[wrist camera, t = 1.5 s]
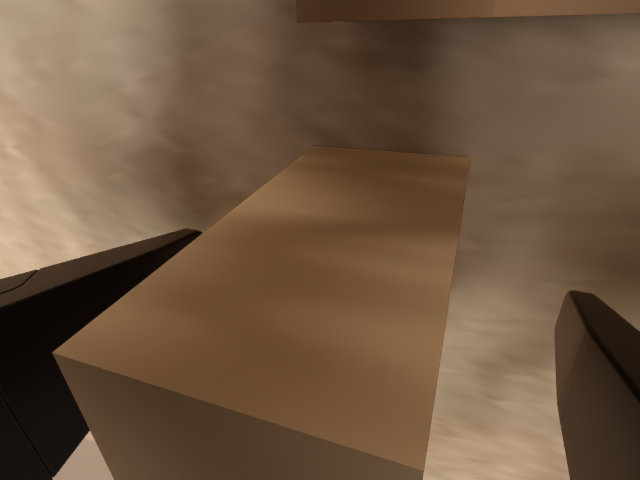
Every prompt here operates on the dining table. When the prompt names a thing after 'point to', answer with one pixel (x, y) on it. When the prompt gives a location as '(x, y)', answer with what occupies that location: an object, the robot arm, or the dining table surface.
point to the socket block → (453, 9)
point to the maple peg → (285, 331)
